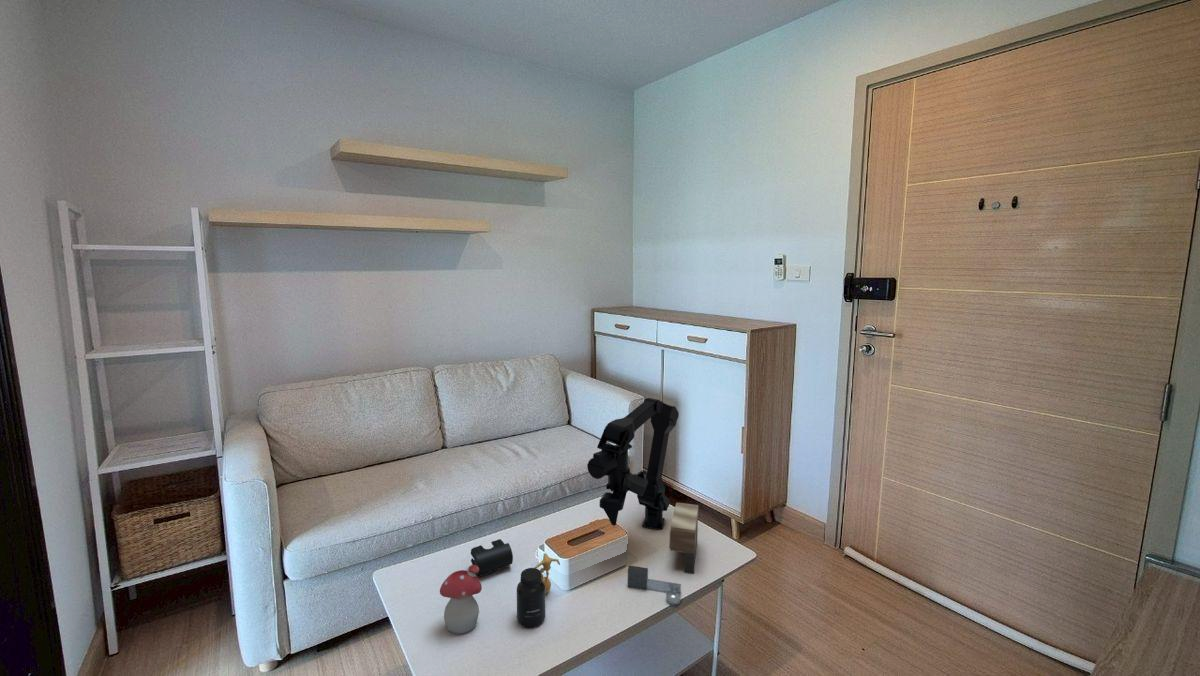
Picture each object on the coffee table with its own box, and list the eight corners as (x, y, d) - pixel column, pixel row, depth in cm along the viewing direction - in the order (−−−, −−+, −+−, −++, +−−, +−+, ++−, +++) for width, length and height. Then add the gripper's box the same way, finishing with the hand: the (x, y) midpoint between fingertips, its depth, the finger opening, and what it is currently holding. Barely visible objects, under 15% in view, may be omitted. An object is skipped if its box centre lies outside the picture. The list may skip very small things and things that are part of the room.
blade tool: (629, 582, 134) (629, 565, 133) (680, 590, 130) (681, 573, 129) (627, 587, 132) (627, 569, 131) (680, 595, 128) (680, 578, 127)
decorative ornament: (486, 616, 121) (483, 560, 119) (477, 637, 115) (475, 577, 112) (448, 615, 122) (445, 558, 119) (438, 635, 115) (434, 576, 113)
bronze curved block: (674, 542, 152) (675, 502, 150) (697, 545, 150) (698, 505, 148) (668, 570, 139) (669, 526, 137) (693, 573, 137) (695, 530, 135)
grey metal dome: (666, 595, 129) (667, 588, 128) (681, 597, 128) (681, 590, 127) (665, 605, 125) (665, 597, 125) (679, 607, 124) (680, 600, 124)
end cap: (478, 583, 134) (477, 560, 132) (470, 569, 140) (468, 547, 138) (513, 570, 139) (512, 548, 138) (503, 557, 145) (503, 536, 144)
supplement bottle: (531, 633, 116) (530, 586, 114) (511, 620, 120) (509, 575, 118) (551, 616, 121) (550, 571, 119) (531, 604, 125) (530, 561, 123)
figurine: (554, 582, 134) (554, 541, 132) (564, 595, 128) (563, 553, 126) (525, 592, 130) (524, 550, 128) (534, 606, 124) (533, 563, 122)
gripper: (639, 483, 132) (639, 538, 135) (650, 456, 150) (650, 504, 152) (599, 479, 135) (599, 532, 137) (614, 452, 153) (614, 500, 155)
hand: (617, 516), depth 146 cm, fingers open, 9 cm apart
